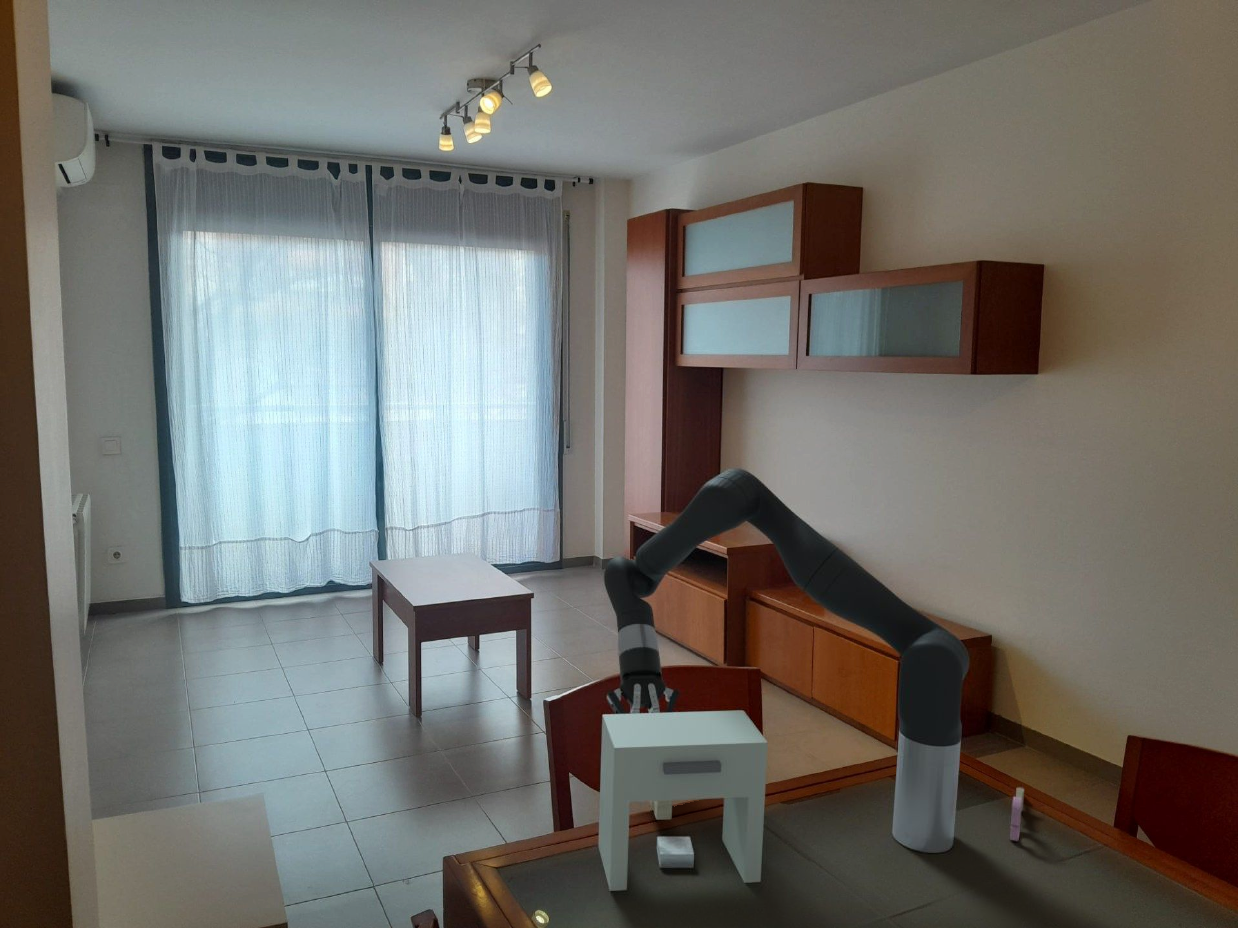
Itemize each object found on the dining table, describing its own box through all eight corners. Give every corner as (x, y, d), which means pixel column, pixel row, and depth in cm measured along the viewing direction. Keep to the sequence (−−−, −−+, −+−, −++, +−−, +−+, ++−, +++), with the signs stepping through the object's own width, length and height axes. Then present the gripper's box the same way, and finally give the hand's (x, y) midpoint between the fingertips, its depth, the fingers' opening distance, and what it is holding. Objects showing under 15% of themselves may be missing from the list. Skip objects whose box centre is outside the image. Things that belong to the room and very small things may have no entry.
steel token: (656, 851, 141) (657, 836, 140) (689, 851, 141) (689, 836, 140) (659, 869, 136) (660, 854, 135) (693, 869, 136) (693, 854, 136)
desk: (598, 846, 141) (602, 714, 138) (737, 838, 144) (743, 710, 142) (611, 895, 128) (615, 751, 125) (763, 886, 131) (770, 745, 129)
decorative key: (1023, 812, 162) (1017, 845, 144) (1016, 810, 163) (1009, 843, 145) (1026, 773, 163) (1020, 802, 145) (1019, 772, 163) (1012, 800, 145)
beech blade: (632, 755, 166) (634, 716, 165) (645, 754, 167) (647, 715, 166) (656, 819, 145) (658, 774, 144) (671, 818, 145) (673, 774, 144)
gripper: (604, 645, 165) (611, 738, 155) (679, 644, 168) (691, 736, 157) (599, 664, 171) (605, 755, 161) (672, 663, 173) (683, 752, 163)
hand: (648, 745), depth 159 cm, fingers closed on beech blade, 2 cm apart
